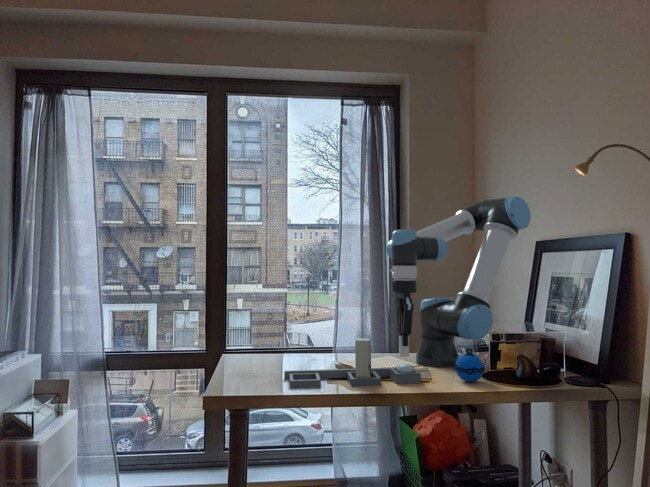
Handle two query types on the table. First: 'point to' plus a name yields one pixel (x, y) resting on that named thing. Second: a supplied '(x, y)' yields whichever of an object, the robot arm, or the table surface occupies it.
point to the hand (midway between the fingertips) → (404, 356)
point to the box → (363, 357)
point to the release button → (405, 368)
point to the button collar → (405, 376)
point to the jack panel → (314, 377)
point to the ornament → (469, 367)
